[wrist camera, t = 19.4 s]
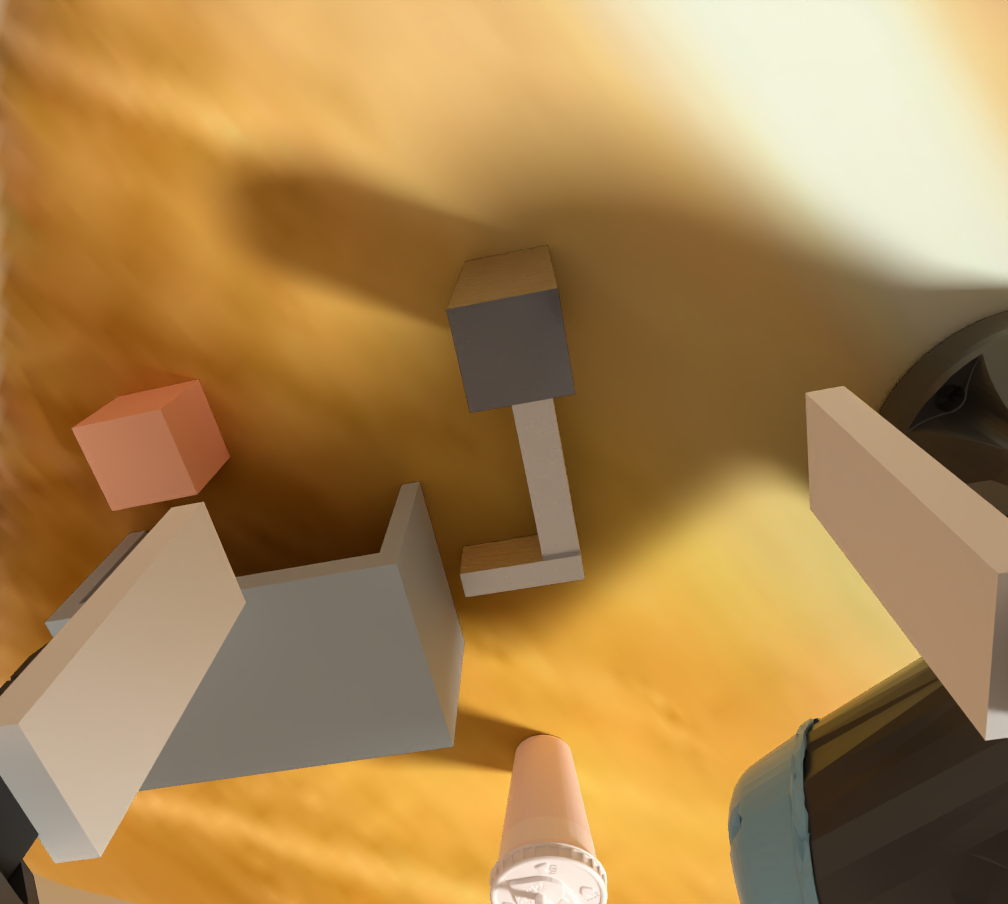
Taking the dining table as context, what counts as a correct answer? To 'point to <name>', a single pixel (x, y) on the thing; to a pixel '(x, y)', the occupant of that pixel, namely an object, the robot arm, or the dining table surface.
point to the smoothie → (546, 833)
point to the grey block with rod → (519, 408)
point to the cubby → (320, 662)
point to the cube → (153, 445)
